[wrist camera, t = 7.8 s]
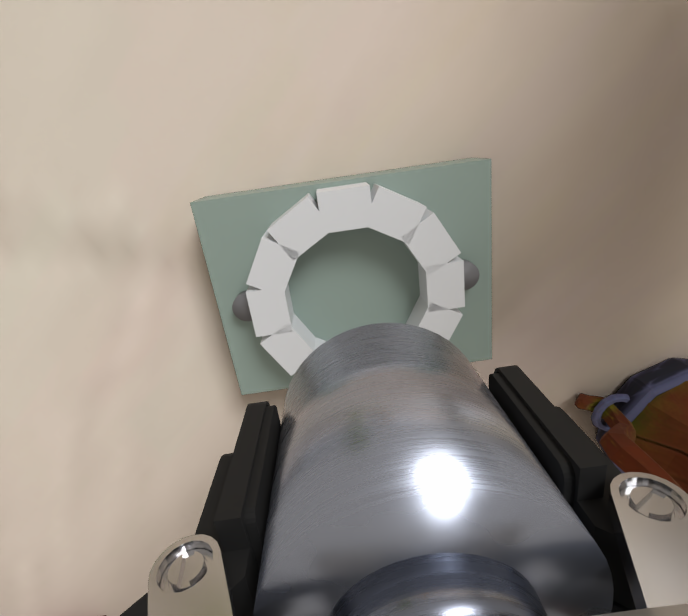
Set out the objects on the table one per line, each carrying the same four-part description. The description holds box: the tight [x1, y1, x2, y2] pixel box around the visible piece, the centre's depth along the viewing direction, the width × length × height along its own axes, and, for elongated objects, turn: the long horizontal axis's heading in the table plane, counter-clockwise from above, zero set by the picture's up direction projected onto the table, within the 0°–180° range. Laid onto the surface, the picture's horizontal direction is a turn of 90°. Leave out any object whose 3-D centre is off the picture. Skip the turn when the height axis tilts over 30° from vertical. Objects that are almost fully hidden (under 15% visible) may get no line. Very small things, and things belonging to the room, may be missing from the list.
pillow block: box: [190, 158, 492, 395], centre depth 24 cm, size 16×12×5 cm
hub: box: [253, 323, 614, 616], centre depth 9 cm, size 6×6×7 cm
